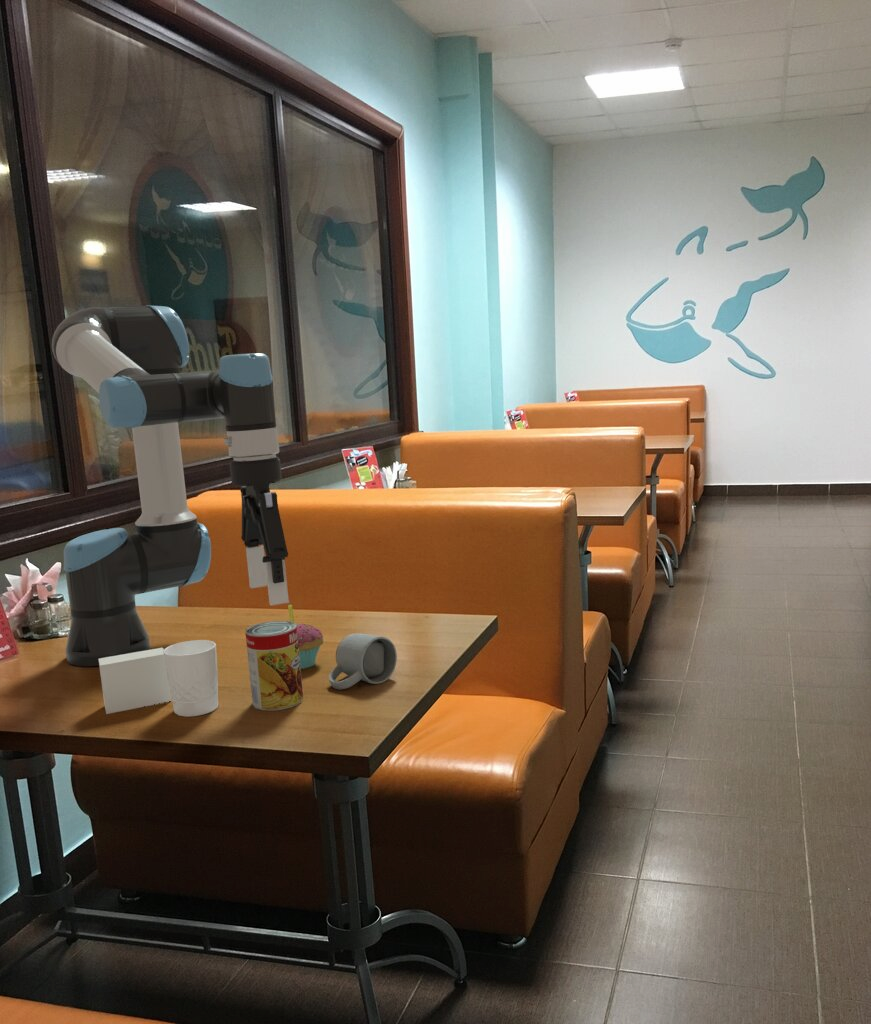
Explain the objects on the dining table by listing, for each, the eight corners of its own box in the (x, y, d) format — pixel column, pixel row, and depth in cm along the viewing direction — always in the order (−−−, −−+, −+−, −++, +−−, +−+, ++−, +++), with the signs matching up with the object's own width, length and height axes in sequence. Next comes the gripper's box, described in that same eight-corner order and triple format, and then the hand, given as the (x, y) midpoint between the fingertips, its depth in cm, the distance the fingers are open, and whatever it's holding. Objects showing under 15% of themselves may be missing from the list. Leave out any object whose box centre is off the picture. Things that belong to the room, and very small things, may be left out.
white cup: (201, 696, 153) (195, 637, 152) (232, 705, 148) (226, 644, 147) (160, 712, 147) (152, 650, 146) (191, 722, 142) (183, 658, 141)
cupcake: (310, 674, 161) (304, 605, 159) (267, 671, 164) (260, 604, 162) (333, 658, 169) (327, 592, 167) (291, 655, 172) (285, 591, 170)
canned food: (311, 701, 148) (304, 627, 146) (264, 714, 143) (256, 638, 141) (290, 689, 154) (284, 617, 152) (245, 701, 150) (237, 627, 148)
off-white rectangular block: (104, 706, 152) (98, 658, 151) (168, 694, 156) (162, 647, 155) (106, 714, 148) (100, 665, 147) (171, 701, 152) (166, 653, 151)
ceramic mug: (367, 667, 162) (363, 624, 161) (399, 676, 157) (395, 631, 155) (318, 686, 155) (313, 641, 154) (350, 696, 149) (345, 649, 148)
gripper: (214, 455, 153) (228, 584, 156) (247, 465, 130) (262, 615, 133) (260, 450, 155) (273, 577, 159) (300, 459, 133) (314, 607, 136)
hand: (268, 595), depth 146 cm, fingers open, 13 cm apart
